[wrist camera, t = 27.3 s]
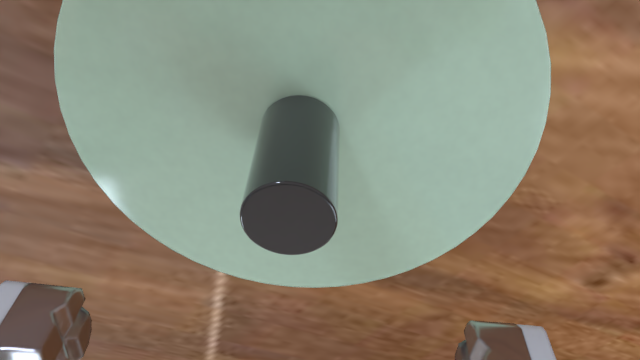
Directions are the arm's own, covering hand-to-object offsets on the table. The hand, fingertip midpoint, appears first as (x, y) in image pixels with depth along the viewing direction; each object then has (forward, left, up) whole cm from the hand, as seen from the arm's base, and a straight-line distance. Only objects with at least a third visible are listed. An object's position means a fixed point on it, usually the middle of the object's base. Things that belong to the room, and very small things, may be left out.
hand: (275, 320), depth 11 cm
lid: (0, 0, -8) cm, 8 cm away
